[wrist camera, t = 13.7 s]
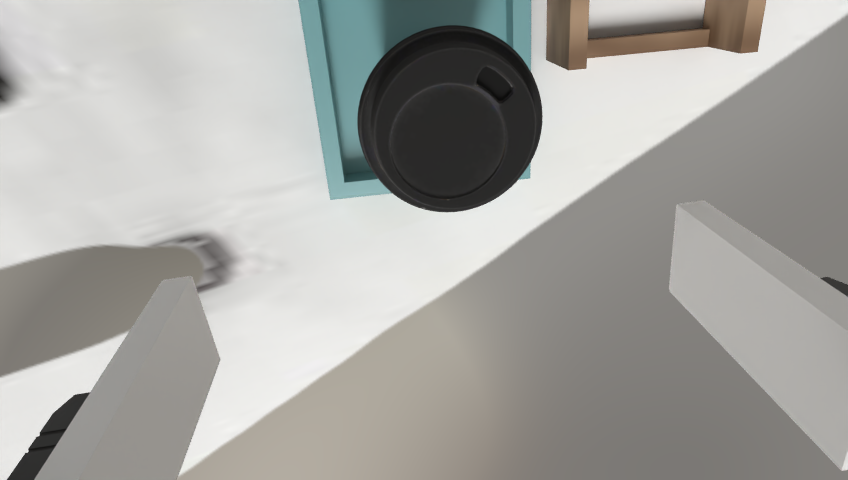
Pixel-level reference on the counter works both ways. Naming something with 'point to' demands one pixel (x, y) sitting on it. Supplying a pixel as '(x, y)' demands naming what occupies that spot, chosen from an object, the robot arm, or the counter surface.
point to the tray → (363, 48)
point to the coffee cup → (449, 118)
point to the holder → (722, 28)
